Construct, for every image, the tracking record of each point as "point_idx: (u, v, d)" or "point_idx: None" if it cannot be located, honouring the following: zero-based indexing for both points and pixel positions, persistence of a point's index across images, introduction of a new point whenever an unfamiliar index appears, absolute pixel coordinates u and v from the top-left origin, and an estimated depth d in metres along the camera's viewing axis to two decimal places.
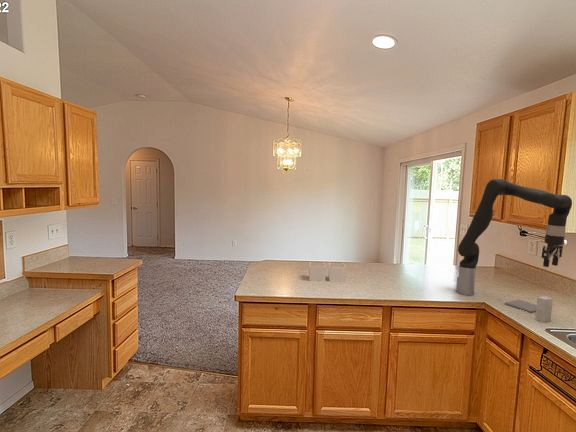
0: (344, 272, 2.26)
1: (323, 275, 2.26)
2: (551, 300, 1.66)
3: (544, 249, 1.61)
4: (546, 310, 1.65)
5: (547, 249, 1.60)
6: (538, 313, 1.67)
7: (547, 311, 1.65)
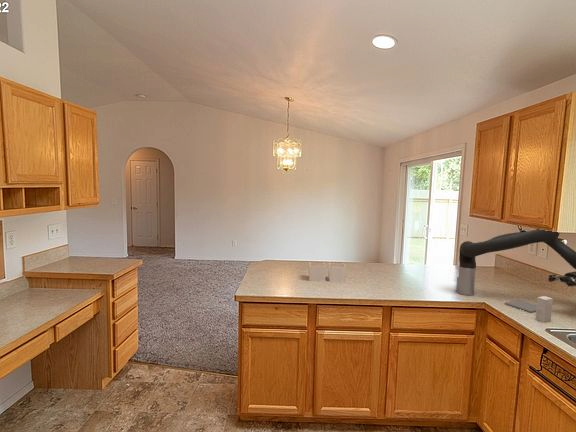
0: (344, 272, 2.26)
1: (323, 275, 2.26)
2: (551, 300, 1.66)
3: None
4: (546, 310, 1.65)
5: None
6: (538, 313, 1.67)
7: (547, 311, 1.65)
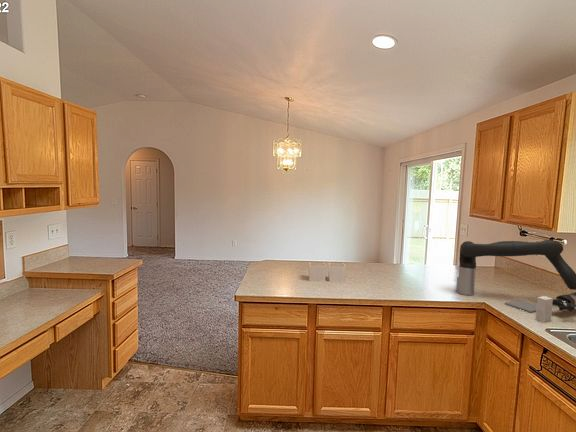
0: (344, 272, 2.26)
1: (322, 275, 2.26)
2: (551, 300, 1.66)
3: (575, 307, 1.67)
4: (546, 310, 1.65)
5: (575, 309, 1.68)
6: (538, 313, 1.67)
7: (547, 311, 1.65)
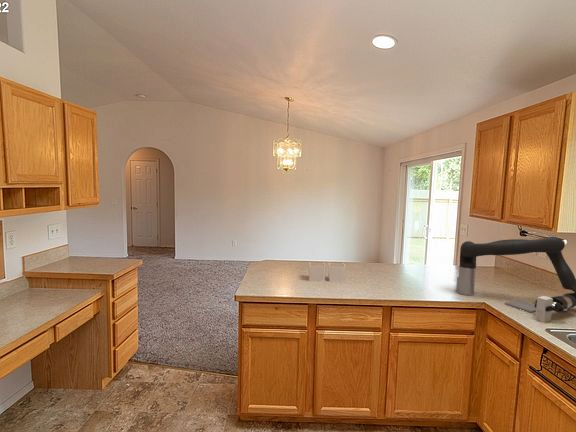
0: (344, 272, 2.26)
1: (322, 275, 2.26)
2: (551, 300, 1.66)
3: (564, 308, 1.64)
4: None
5: (565, 311, 1.64)
6: (538, 313, 1.67)
7: None
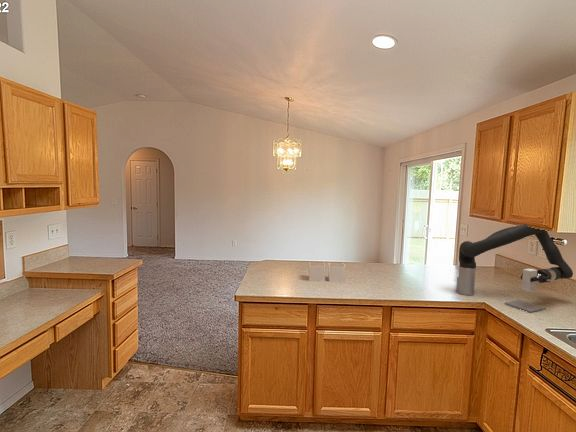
0: (344, 272, 2.26)
1: (322, 275, 2.26)
2: (536, 272, 1.80)
3: (548, 279, 1.78)
4: None
5: (548, 281, 1.78)
6: (524, 284, 1.82)
7: (532, 282, 1.80)
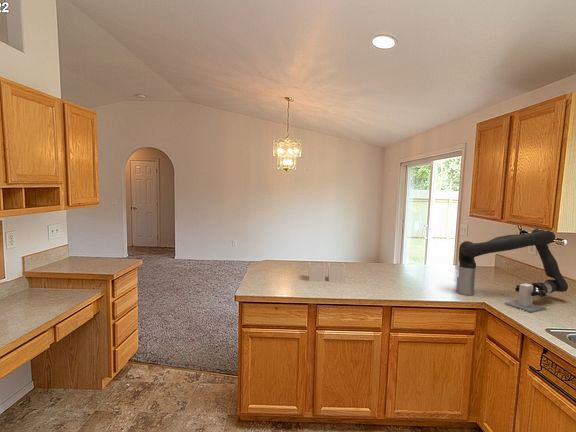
0: (343, 272, 2.26)
1: (322, 275, 2.26)
2: (532, 287, 1.84)
3: (546, 293, 1.82)
4: (527, 296, 1.83)
5: (546, 295, 1.82)
6: (520, 299, 1.85)
7: (529, 297, 1.84)
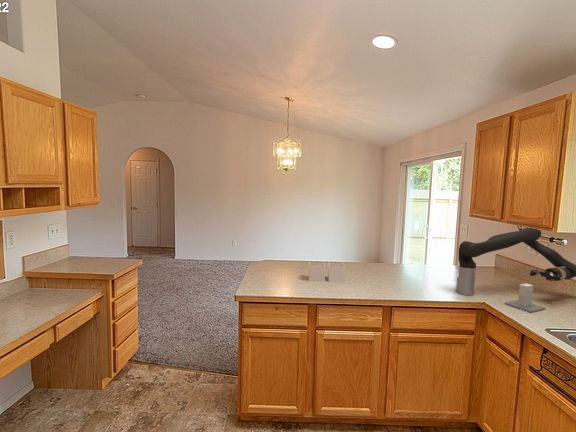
0: (343, 272, 2.26)
1: (322, 275, 2.26)
2: (532, 287, 1.84)
3: (561, 277, 1.86)
4: (527, 296, 1.83)
5: (561, 279, 1.86)
6: (520, 299, 1.85)
7: (529, 297, 1.84)
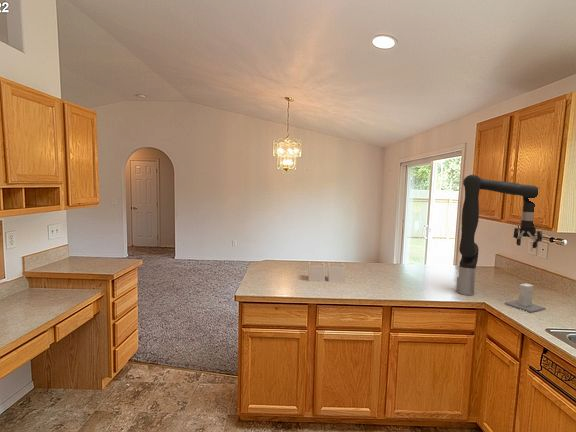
0: (343, 272, 2.26)
1: (322, 275, 2.26)
2: (532, 287, 1.84)
3: (540, 234, 1.86)
4: (527, 296, 1.83)
5: (541, 233, 1.86)
6: (520, 299, 1.85)
7: (529, 297, 1.84)
